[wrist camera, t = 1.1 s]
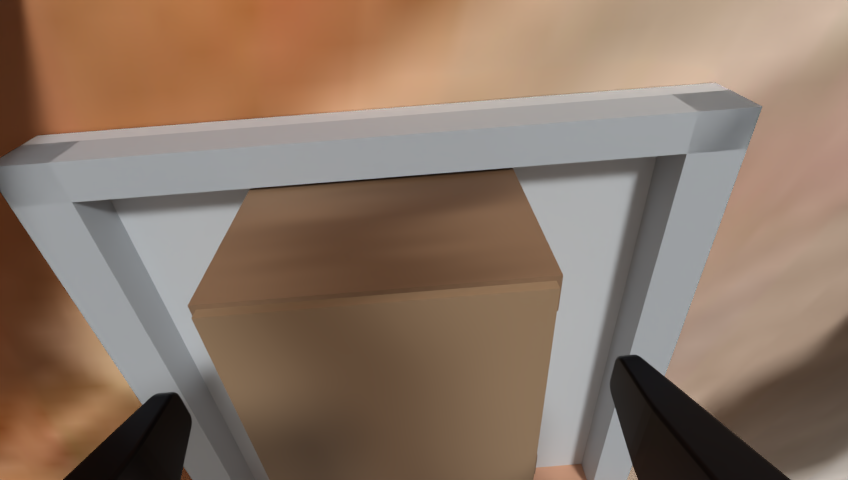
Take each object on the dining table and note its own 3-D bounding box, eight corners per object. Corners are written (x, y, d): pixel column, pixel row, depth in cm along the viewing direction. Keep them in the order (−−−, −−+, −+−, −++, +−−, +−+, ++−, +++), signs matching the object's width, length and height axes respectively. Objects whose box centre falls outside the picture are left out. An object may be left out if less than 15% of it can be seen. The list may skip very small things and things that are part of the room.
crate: (506, 153, 12) (567, 283, 7) (498, 329, 15) (537, 482, 11) (258, 173, 12) (182, 314, 7) (309, 344, 15) (276, 503, 11)
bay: (716, 82, 12) (801, 126, 9) (602, 467, 22) (628, 536, 19) (37, 135, 12) (-60, 195, 9) (243, 497, 22) (223, 571, 19)
